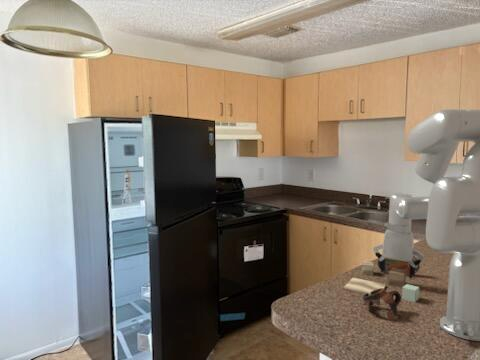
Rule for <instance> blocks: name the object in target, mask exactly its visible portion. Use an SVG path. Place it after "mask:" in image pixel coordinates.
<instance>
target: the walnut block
mask: <svg viewBox="0 0 480 360" xmlns="http://www.w3.org/2000/svg"><path fill="white" fill-rule="evenodd" d="M406 284H407V276H406V270H400V269H395V268H392V269H391V270H390V271H389V274H388V286H392V287H396V288H401V289H402V287H403V286H405V285H406Z"/></svg>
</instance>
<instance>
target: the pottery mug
mask: <svg viewBox="0 0 480 360" xmlns="http://www.w3.org/2000/svg"><path fill="white" fill-rule="evenodd" d="M370 293H371V295H368V293H367V294H363V295H362V297H361V298H362V299H363V301H362V305H363V306H367V307H368V308H370V307H372V306H373V305H374V304H375V305H381V302H380V301H381V299H382V300H383V302H384V303H385V304H386V305H387V304H388V305H389V308H390V310H389V311H387V312H386V315H387V318H388V320H390V321H391V320H393V319H394V318H395V319H396V317H398V316H399V314H398V313H399V312H398V306H399V305H400V303H401V300H402V294H400V292H399V291H397V290H391V291H389V292H388V291H386V290H385V288H380V289H377V290H374V291H371V292H370ZM394 297H395V299H394Z"/></svg>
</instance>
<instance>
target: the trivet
mask: <svg viewBox="0 0 480 360" xmlns="http://www.w3.org/2000/svg"><path fill="white" fill-rule="evenodd" d="M386 287H387V284H386V283H381V282H378V281H377V282H376V281H372V280H366V279H361V278H356V277H352V278H351V279H350V280H349V281H347V283H346V284H345V285H344V286H343V287H342V290H344V291H349V292H353V293H357V294H360V295H365V294H367V293H368V295H369V296H370V295H371V293H370V292H371V291H374V290H377V289H380V288H384V289H385V288H386Z"/></svg>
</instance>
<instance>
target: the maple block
mask: <svg viewBox="0 0 480 360" xmlns="http://www.w3.org/2000/svg"><path fill="white" fill-rule="evenodd" d="M374 269H375V267H374V262H372V261H362V275H367V276H374Z"/></svg>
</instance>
